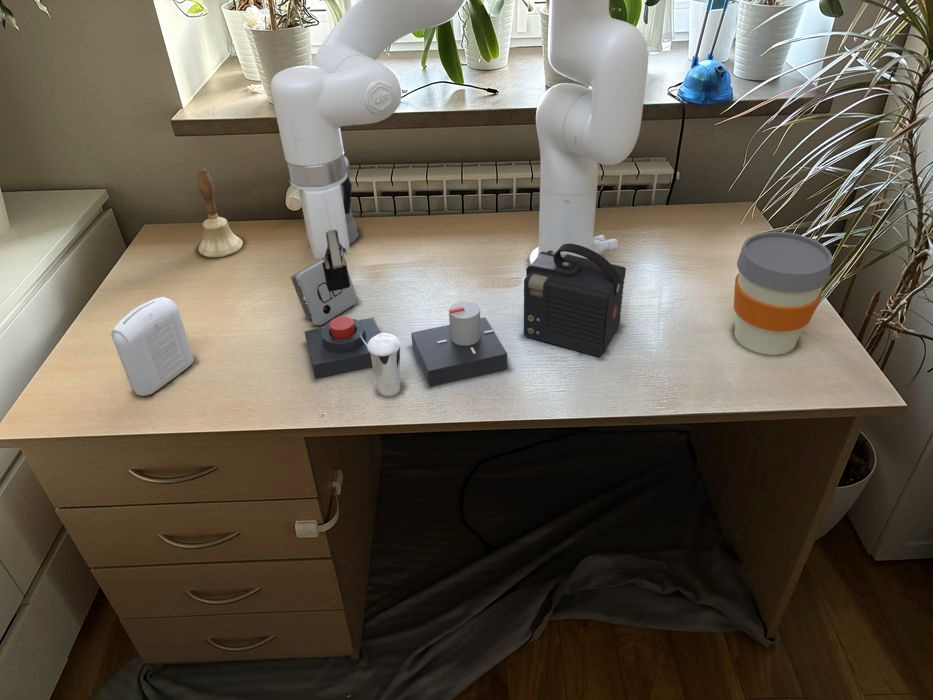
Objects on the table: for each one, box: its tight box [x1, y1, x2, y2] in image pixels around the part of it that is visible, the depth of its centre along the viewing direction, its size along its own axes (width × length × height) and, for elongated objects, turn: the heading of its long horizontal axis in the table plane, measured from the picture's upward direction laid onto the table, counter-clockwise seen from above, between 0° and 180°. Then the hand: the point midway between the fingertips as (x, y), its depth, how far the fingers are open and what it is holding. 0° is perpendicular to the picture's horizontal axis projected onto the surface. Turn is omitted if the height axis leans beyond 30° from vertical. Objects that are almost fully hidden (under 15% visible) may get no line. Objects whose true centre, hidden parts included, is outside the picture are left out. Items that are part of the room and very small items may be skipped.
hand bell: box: [197, 167, 244, 258], centre depth 139 cm, size 8×8×16 cm
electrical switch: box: [290, 259, 358, 327], centre depth 123 cm, size 9×5×9 cm, turn 141°
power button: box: [329, 315, 355, 339], centre depth 112 cm, size 4×4×2 cm
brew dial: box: [448, 300, 481, 346], centre depth 111 cm, size 5×5×5 cm
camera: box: [523, 244, 627, 357], centre depth 114 cm, size 11×14×15 cm
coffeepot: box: [340, 156, 359, 245], centre depth 139 cm, size 15×9×18 cm, turn 37°
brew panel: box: [410, 316, 508, 388], centre depth 113 cm, size 12×10×3 cm
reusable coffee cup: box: [733, 231, 833, 356], centre depth 110 cm, size 13×13×15 cm
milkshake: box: [360, 332, 402, 397], centre depth 105 cm, size 4×5×10 cm
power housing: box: [304, 317, 381, 380], centre depth 114 cm, size 11×9×4 cm
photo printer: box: [110, 296, 195, 397], centre depth 109 cm, size 10×4×12 cm, turn 152°
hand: (338, 286), depth 108 cm, fingers closed
